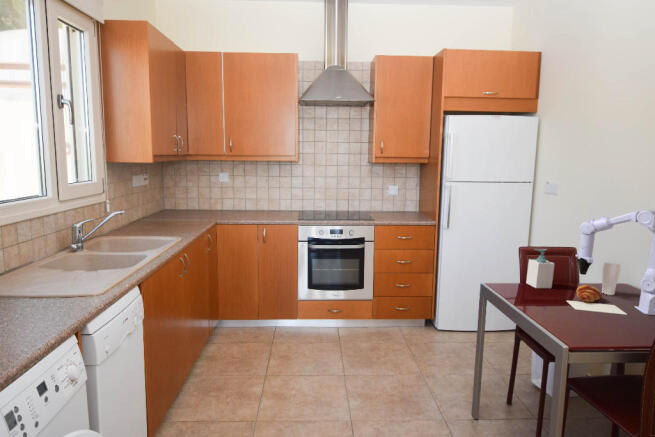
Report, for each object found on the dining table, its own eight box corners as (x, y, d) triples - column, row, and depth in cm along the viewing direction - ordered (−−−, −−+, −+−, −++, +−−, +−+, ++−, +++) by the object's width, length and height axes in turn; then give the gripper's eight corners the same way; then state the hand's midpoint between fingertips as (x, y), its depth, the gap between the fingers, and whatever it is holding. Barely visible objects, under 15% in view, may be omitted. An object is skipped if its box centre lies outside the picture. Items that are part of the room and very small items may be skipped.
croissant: (583, 299, 213) (576, 283, 214) (606, 294, 207) (599, 278, 208) (576, 308, 196) (568, 291, 198) (600, 303, 190) (592, 285, 192)
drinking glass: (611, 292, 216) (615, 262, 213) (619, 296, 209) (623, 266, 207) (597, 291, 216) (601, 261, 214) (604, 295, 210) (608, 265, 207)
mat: (627, 314, 183) (627, 314, 183) (575, 309, 187) (575, 309, 187) (614, 305, 194) (614, 305, 194) (566, 300, 198) (566, 300, 198)
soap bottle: (525, 283, 225) (529, 247, 222) (541, 283, 226) (545, 247, 223) (535, 288, 216) (539, 250, 214) (551, 288, 218) (556, 251, 215)
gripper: (571, 243, 217) (568, 269, 219) (582, 248, 203) (579, 277, 204) (587, 244, 215) (583, 271, 217) (599, 250, 201) (595, 278, 203)
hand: (582, 274), depth 211 cm, fingers closed
